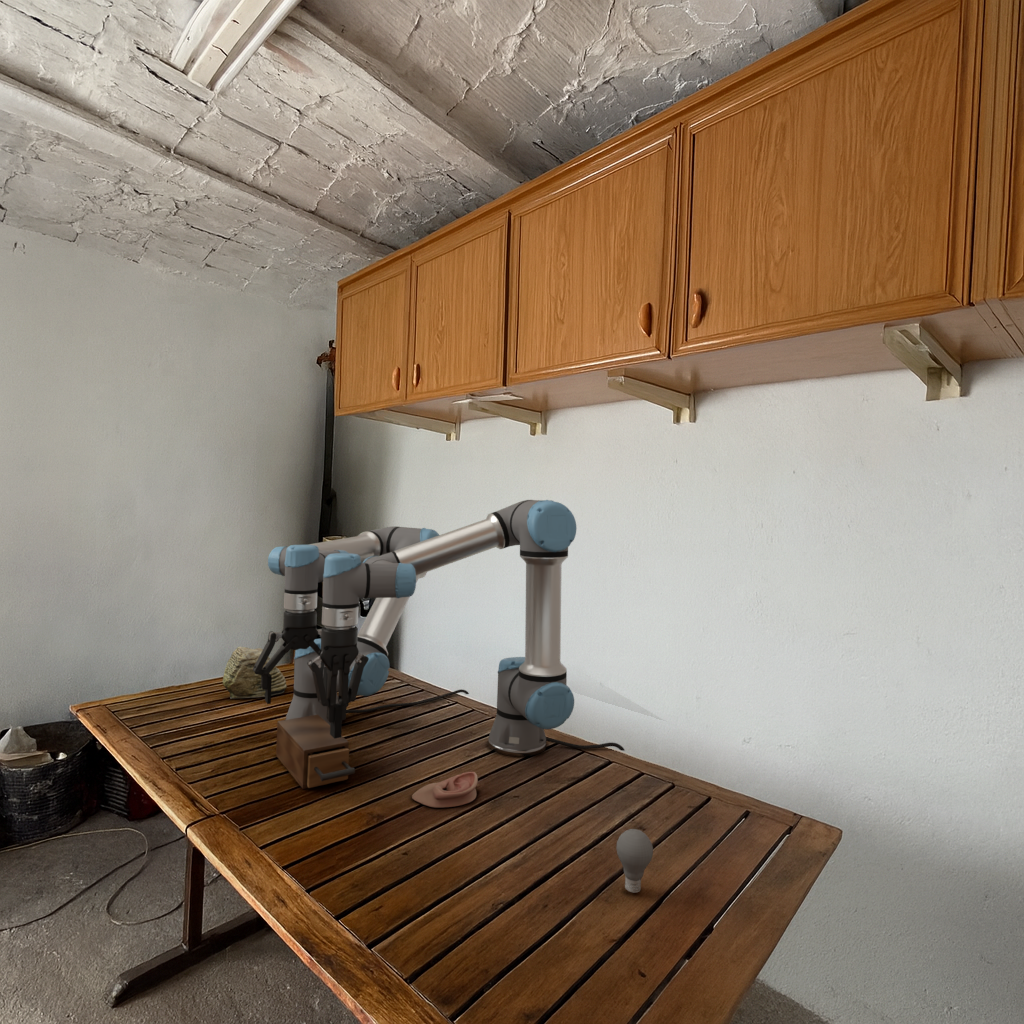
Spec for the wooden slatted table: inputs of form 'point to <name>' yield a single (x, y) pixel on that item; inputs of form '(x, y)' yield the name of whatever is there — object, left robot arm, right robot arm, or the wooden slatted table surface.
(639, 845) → the light bulb
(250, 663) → the fossil
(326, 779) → the drawer
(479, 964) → the wooden slatted table surface
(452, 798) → the anatomical model
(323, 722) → the cabinet
